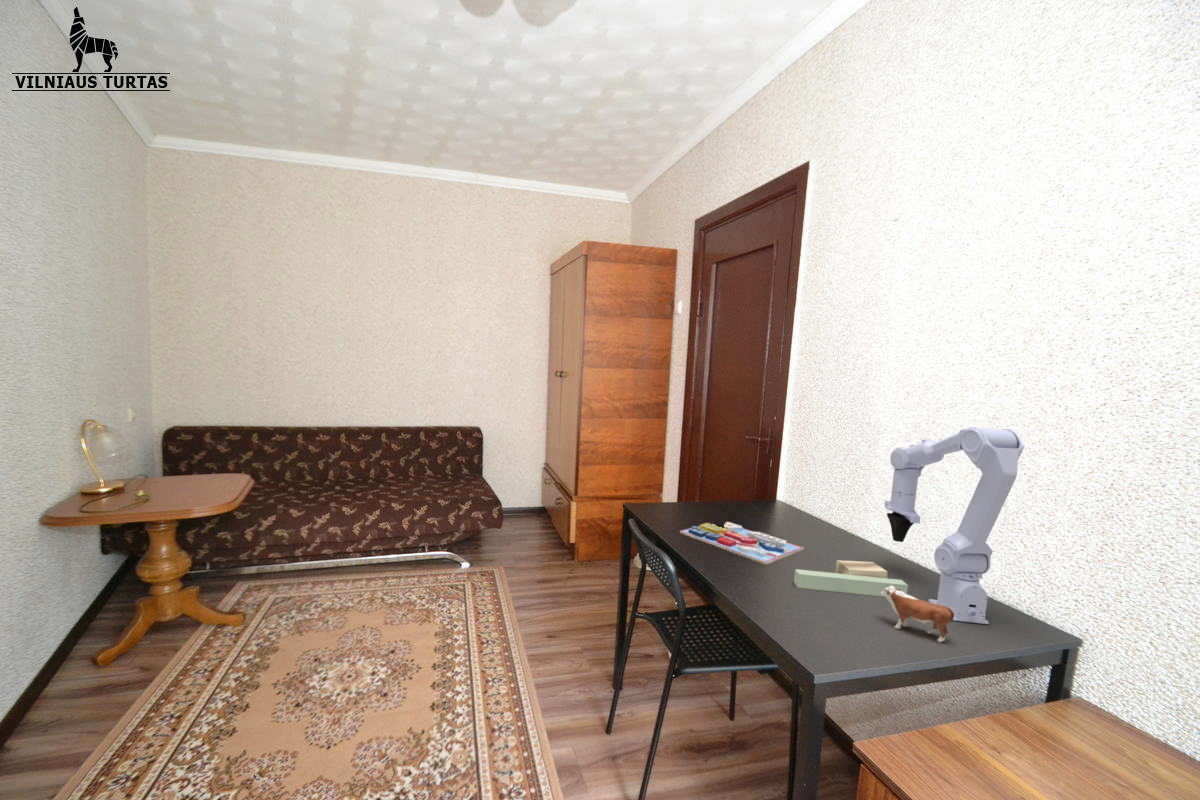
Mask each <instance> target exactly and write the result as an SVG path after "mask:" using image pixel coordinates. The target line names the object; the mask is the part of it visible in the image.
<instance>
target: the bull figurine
mask: <svg viewBox="0 0 1200 800" xmlns="http://www.w3.org/2000/svg"><path fill="white" fill-rule="evenodd" d="M881 595H882V596H885V597H884V598H885V599H886V600H887V601H888V602H889V603H890V605H891V608H892V610H893V611H894V612H895V614H896V615H897V616H898V617H899V618H898V622H897V623H896V625H894V626H893V628H894V629H895V630H900V629H902V627H904V628H905V627H906V628H907V627H909V622H908V619H913V620H916V621H918V622H920V624H921V625H922V626H923V625H925V624H927V623H933V625H932V627H931V628H929V629H927V630H926V631H925V633H926V634H928V635H931V634H933V635H934V634H935V632H936V631H937V630H938V629H939V632H940V634H939V635H940V636H939V637H938V638H937V639H936V641H937V642H938V643H939V644H941V643H942V642H945V640H946V637H947V634H948V633H949V631H948V628H947V627H948V625H949V624H950V623H951V622H952V621H954V620H953V618H954V613H953V611H952V610H951V609H950V608H949V607H946V606H942V605H938V604H934V603H930V602H929V601H925V600H922V599H919V598H917V597H914V596H913V595H910V594H908V593H907V594H905V593H904V592H902V591H901V590H900V589H895V587H894V586H889V587H887V588H885V589H884V590H883V591H882V592H881ZM882 596H881V597H882Z"/></svg>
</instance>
